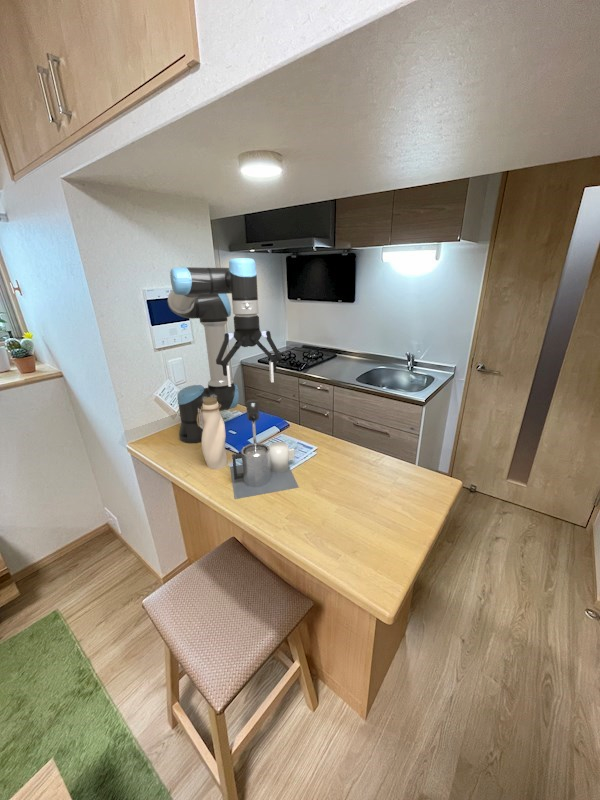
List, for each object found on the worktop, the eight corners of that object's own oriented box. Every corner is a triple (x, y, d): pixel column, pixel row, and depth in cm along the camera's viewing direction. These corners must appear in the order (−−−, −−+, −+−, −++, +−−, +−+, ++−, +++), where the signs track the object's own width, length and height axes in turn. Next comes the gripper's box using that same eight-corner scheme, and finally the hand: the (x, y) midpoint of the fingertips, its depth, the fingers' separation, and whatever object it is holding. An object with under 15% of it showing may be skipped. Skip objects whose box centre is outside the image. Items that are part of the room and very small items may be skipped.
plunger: (243, 449, 113) (239, 398, 106) (264, 446, 114) (261, 396, 107) (246, 460, 106) (242, 406, 99) (268, 457, 108) (265, 404, 101)
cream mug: (267, 463, 123) (266, 443, 120) (292, 460, 126) (291, 439, 123) (271, 474, 116) (270, 453, 113) (297, 470, 119) (296, 449, 116)
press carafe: (233, 475, 116) (230, 446, 112) (268, 469, 120) (266, 441, 115) (236, 491, 108) (233, 460, 103) (273, 484, 111) (271, 454, 107)
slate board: (230, 468, 122) (229, 466, 122) (285, 460, 128) (285, 458, 127) (234, 501, 104) (234, 499, 104) (298, 489, 110) (298, 487, 109)
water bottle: (213, 477, 117) (204, 407, 107) (198, 469, 122) (188, 401, 112) (234, 464, 125) (227, 398, 115) (219, 457, 130) (212, 393, 120)
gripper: (202, 318, 87) (211, 390, 95) (289, 314, 94) (291, 382, 101) (202, 315, 94) (210, 383, 102) (284, 312, 100) (286, 376, 108)
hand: (251, 383), depth 101 cm, fingers open, 13 cm apart
